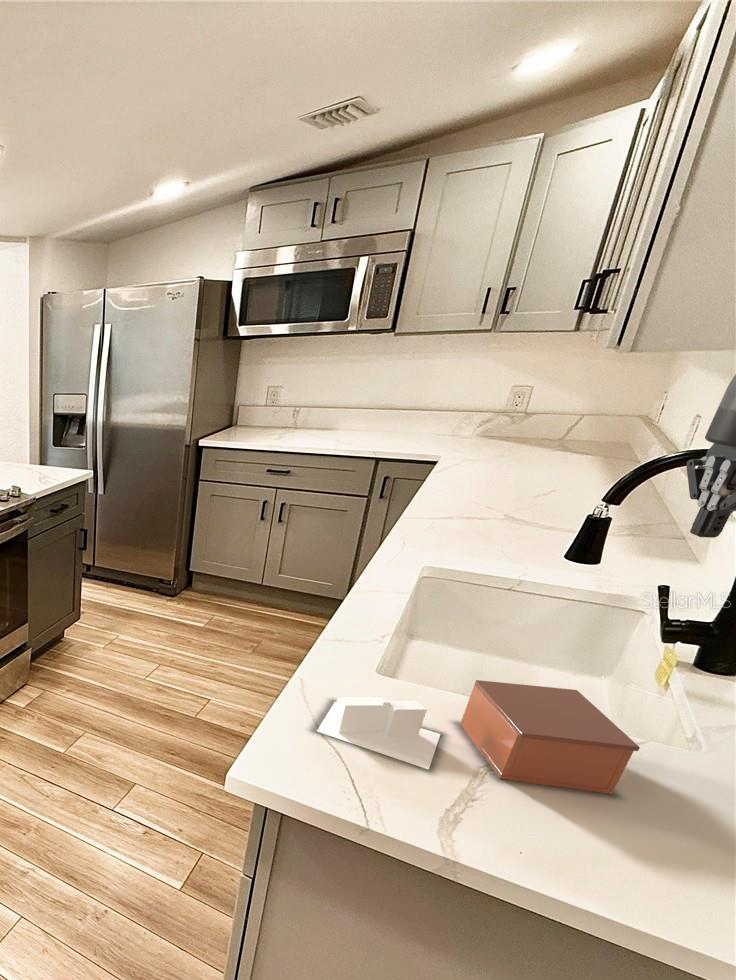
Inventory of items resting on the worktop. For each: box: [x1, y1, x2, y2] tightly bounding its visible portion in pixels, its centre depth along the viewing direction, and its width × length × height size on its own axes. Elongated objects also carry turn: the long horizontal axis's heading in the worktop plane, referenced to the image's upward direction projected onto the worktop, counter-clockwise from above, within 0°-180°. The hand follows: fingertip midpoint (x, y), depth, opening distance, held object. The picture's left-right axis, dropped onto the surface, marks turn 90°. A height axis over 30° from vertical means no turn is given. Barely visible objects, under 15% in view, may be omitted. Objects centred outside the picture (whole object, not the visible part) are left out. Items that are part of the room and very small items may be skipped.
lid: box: [474, 679, 641, 752], centre depth 89 cm, size 14×13×1 cm
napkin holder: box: [316, 696, 441, 771], centre depth 98 cm, size 15×11×6 cm
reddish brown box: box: [459, 683, 634, 795], centre depth 91 cm, size 14×13×8 cm
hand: (703, 535), depth 84 cm, fingers closed
